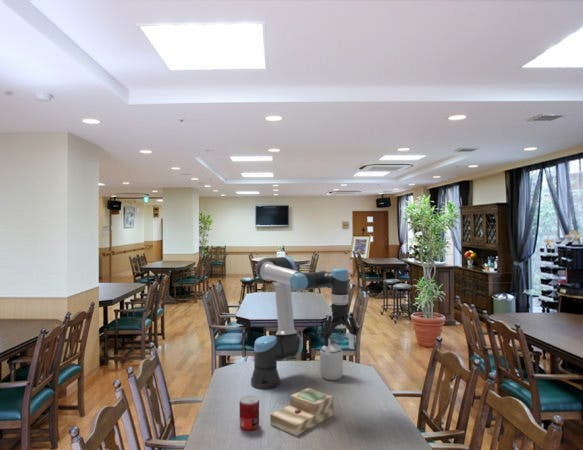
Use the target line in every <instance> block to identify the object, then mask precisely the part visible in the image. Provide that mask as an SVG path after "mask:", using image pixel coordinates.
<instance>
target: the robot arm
mask: <svg viewBox="0 0 583 450" xmlns="http://www.w3.org/2000/svg"><path fill="white" fill-rule="evenodd" d="M254 270H255V274H256V276H257V277H258V278H259V279H261V280H264V281H271V283H272V284H273V285H274V291H275V292H274V293H275V302H276V303H275V304H276V317H277V318H276V319H277V331H276V333H275V335H272V334H271V335H270V334H269V335H263V336H260V337H258V338H256V339H255V341H254V346H253V354H254V355H253V360H254V361H253V365H254V366H253V372H252V375H251V377H250V385H251V386H252V387H253V388H255V389H259V390H260V389H261V390H262V389H263V390H267V389H274V388H276V387H278V386H280V384H281V378H280V374H279V370H278V367H277V365H278V362H280V361H283V360H288V359H294V358H297V357H298V356H300V354H301V353H302V351H303V349H304V348H303V347H304V346H303V345H304V342H303V339H302V336H301V335H299V334H298V331H297V330H296V328H295V323H294V312H293V309H294V308H293V299H292V289H293V290H294V291H304V290H305V291H306V290H307V291H308V290H314V289H316V290H317V289H322V288H323V289H331V313H332V314H331V315H328V314H327V315H326V316H325V324H324V323H323V324H324V327H323V326H322V330H321V332H320V334H319V337H320V338H322V339H323V346H325V353H327V354H330V339H329V337H330V335H331V334H333V332H334V330H335V329H336V327H338V326H340V325H344V326H345V328H346V329H347V330H348V331H349V333H348V348H349V349H351V350H354V349H355V340H356V335H357V334H358V332H360V331H359V328H358V326H357V323H356V320H355V317H354V313H353V312H350V311H349V304H348V303H349V279H350V277H349V271H348V269H346V268H338V267H337V268H333V269H332V270H331V271H327V270H317V271H313V272H311V271H310V272H303V271H300V270H299V271H298V270H297V266H296V263H295V261H294V259H292V258H291V257H288V256H279V257H265V258H262V259H260V260H259V261H258V262H257V263H256V265H255V269H254ZM331 320H332V321H331Z"/></svg>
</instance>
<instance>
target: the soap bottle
mask: <svg viewBox="0 0 583 450" xmlns="http://www.w3.org/2000/svg"><path fill="white" fill-rule="evenodd" d="M332 320H333V319H332ZM332 320H331V321H332ZM324 324H325V322H323V324H322V325H323V326H322V328H323V327H324ZM337 337H339V335H338V334H335V333H332V334H331V335H330V337H329V339H330V354H327V353H325V346H324V345H322V347H320V351H319V371H320V372H319V373H320V375H321V377H322V378H324V379H325V380H327V381H337V380H339V379H341V377H343V374H344V351H343V348H342V347H340V346H339V345H338V344H337V341H335V340H334V339H335V338H337Z"/></svg>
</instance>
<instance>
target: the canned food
mask: <svg viewBox="0 0 583 450" xmlns="http://www.w3.org/2000/svg"><path fill="white" fill-rule="evenodd" d="M259 426H260V398H259V397H258V396H256V395H244V396H241V397H240V398H239V428H240V429H241V430H242V431H246V432H249V431H250V432H252V431H255V430H258V428H259Z"/></svg>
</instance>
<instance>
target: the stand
mask: <svg viewBox="0 0 583 450" xmlns="http://www.w3.org/2000/svg"><path fill="white" fill-rule="evenodd" d="M289 399H290V400H289V402H290V403H289V405H288V406H285V407H283V408H280V409H279V410H277V411H275V412H274V411H273V412H272V413H270V416H269V417H270V421H269V422H270V423H269V424H270V425H271V426H273V427H276V428H277V429H280V430H282V431H284V432H286V433H289V434H290V435H292V436H295V437H296V436H297V437H298V436H299V435H300V434H302V433H304V432H306V431H307V430H309V429H311V428H314V427H315V426H317V425H318V424H320V423H321V422H324V421H325V420H327V419H328V418H330V417H332V416H334V396H333V395H332V394H328V393H325V392H322V391H319V390H316V389H314V388H310V387H307V388H305V389H302V390H299V391H298V392H296V393H293V394H291V395H290V398H289Z"/></svg>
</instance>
